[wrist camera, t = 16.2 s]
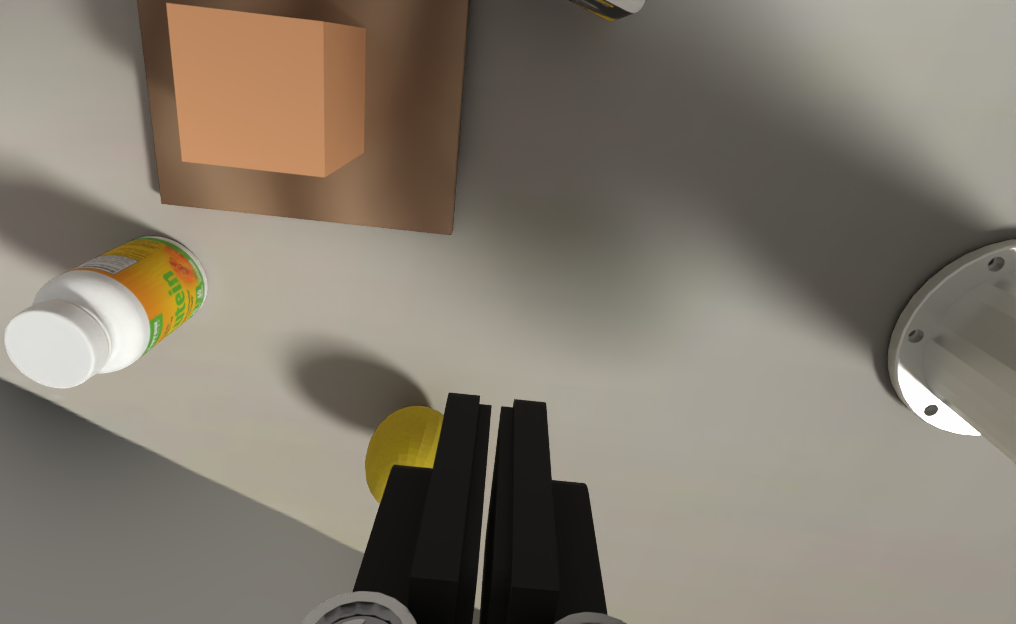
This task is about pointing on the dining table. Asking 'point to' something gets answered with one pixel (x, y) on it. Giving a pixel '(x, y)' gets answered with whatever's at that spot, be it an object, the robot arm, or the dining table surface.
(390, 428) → the lemon
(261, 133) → the tan wooden cube
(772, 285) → the dining table surface
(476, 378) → the dining table surface
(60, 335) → the supplement bottle
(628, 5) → the medicine bottle
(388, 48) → the base board
